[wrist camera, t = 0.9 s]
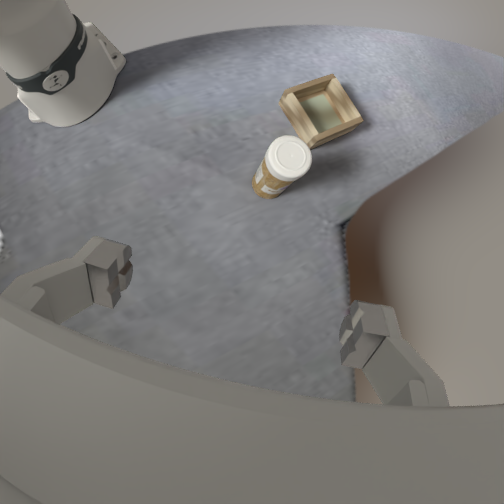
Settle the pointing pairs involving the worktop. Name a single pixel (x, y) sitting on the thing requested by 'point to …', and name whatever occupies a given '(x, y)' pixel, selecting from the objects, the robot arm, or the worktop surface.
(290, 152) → the sprinkles bottle
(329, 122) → the box
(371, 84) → the worktop surface
